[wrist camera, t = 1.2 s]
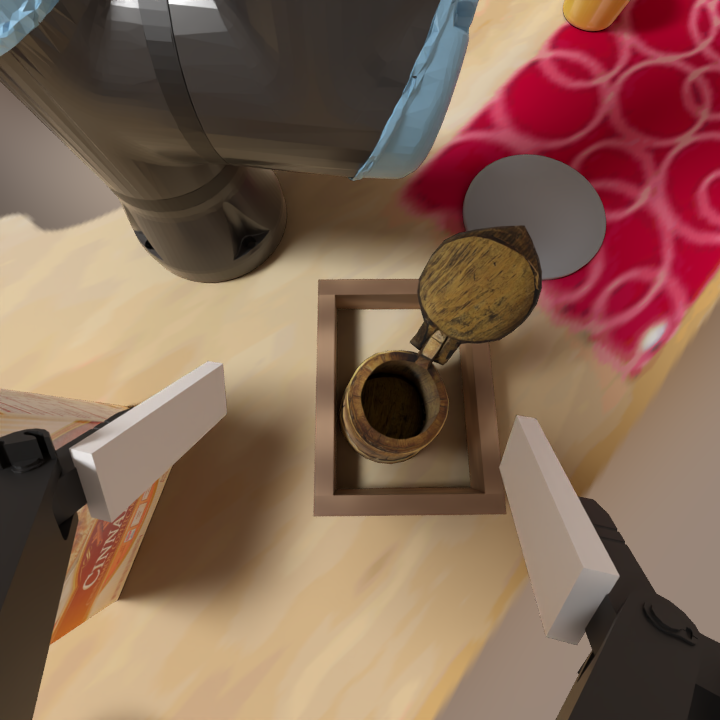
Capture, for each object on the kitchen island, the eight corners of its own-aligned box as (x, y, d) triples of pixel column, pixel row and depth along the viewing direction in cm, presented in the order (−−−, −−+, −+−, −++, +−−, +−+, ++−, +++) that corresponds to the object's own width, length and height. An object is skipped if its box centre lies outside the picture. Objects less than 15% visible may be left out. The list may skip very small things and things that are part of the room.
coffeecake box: (119, 603, 28) (-414, 971, 9) (42, 574, 28) (-629, 865, 9) (192, 426, 31) (-76, 408, 12) (122, 403, 31) (-245, 351, 12)
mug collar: (322, 295, 34) (318, 279, 30) (469, 294, 34) (482, 278, 30) (318, 507, 29) (313, 516, 26) (489, 505, 29) (506, 514, 26)
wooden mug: (476, 362, 32) (616, 272, 15) (400, 483, 30) (459, 548, 12) (399, 312, 33) (445, 174, 16) (319, 425, 31) (268, 408, 13)
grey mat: (457, 159, 38) (458, 154, 37) (589, 158, 38) (593, 154, 37) (468, 280, 34) (470, 278, 34) (613, 279, 34) (618, 277, 34)
